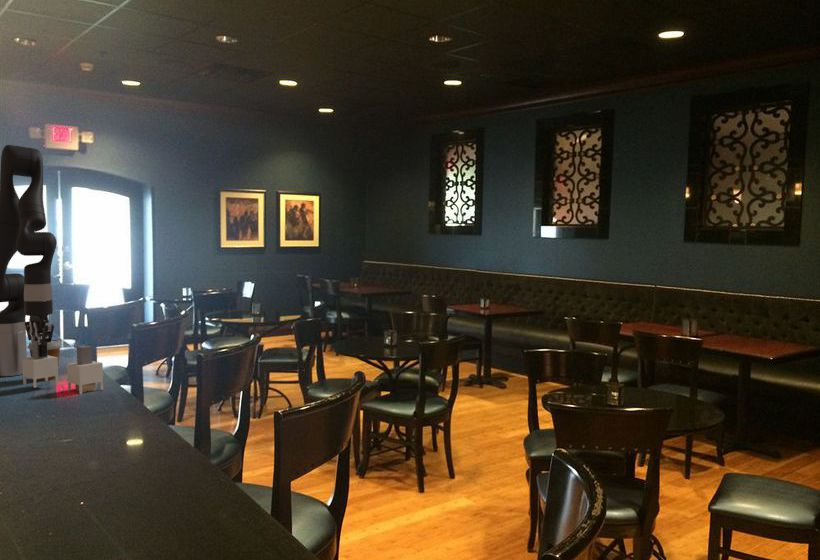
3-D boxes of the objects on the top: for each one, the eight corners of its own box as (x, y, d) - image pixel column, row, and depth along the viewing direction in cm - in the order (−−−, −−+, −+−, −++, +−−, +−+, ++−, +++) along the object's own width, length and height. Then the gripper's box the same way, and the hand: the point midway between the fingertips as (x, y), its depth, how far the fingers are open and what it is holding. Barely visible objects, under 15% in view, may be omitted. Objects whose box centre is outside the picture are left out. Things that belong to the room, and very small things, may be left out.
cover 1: (23, 384, 207) (21, 341, 206) (47, 380, 212) (45, 338, 211) (34, 387, 202) (33, 344, 202) (58, 383, 208) (57, 341, 207)
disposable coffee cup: (37, 383, 213) (36, 345, 213) (23, 379, 219) (22, 342, 218) (68, 378, 221) (66, 341, 220) (53, 374, 227) (52, 338, 226)
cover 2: (67, 390, 203) (66, 347, 202) (90, 386, 209) (89, 344, 208) (80, 393, 199) (78, 349, 198) (103, 389, 205) (101, 346, 204)
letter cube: (75, 390, 204) (75, 377, 203) (88, 388, 207) (88, 374, 206) (82, 392, 201) (82, 378, 201) (95, 390, 204) (95, 376, 204)
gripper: (14, 298, 207) (16, 355, 208) (36, 301, 198) (38, 360, 200) (39, 296, 213) (41, 351, 214) (62, 299, 204) (64, 356, 206)
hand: (40, 355), depth 207 cm, fingers closed on cover 1, 3 cm apart
